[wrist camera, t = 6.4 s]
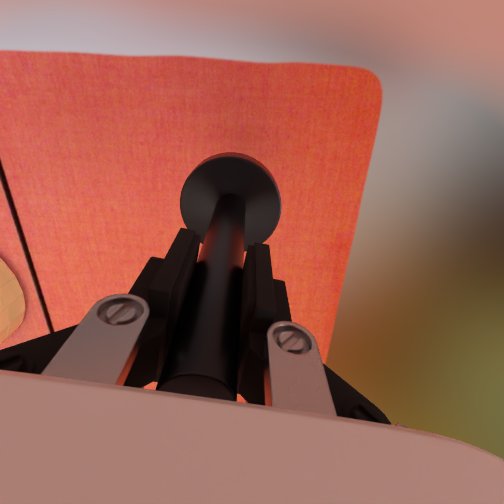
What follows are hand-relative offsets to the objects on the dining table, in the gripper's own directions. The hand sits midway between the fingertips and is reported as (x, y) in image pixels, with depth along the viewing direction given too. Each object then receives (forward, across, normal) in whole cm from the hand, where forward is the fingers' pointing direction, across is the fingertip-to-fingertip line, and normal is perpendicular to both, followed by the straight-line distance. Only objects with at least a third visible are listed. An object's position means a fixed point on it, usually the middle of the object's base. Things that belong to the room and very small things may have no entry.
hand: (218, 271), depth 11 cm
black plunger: (+9, 0, 0) cm, 9 cm away
